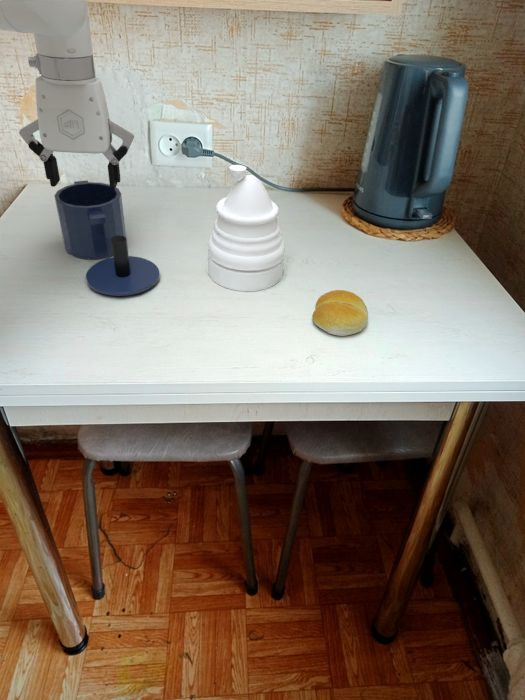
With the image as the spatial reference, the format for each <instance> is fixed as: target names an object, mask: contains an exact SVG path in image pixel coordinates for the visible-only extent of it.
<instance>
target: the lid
mask: <svg viewBox="0 0 525 700" xmlns="http://www.w3.org/2000/svg"><path fill="white" fill-rule="evenodd" d="M111 245H112V252H113V256H112V257H109V258H104V259H101V260H100V261H97V262H96V263H95V264H93V265H91V266H90V267H89V269H88V270H87V272H86V274H85V281H86V283H87V285H88V286H89V287H90V288H91V289H92V290H93V291H95V292H97V293H100V294H103V295H107V296H116V297H123V296H131V295H136V294H140V293H143V292H146V291H147V290H150V289H151V288H153V287H154V286H155V285H156V284H157V283H158V281H159V280H160V269H159V267H158V266H157V264H155V263H154V262H152V261H151V260H149V259H146V258H143V257H140V256H134V255H133V256H132V255H129V245H128V238H127V236H126V237H124V236H114V237H112V238H111Z"/></svg>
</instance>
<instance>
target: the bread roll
mask: <svg viewBox="0 0 525 700" xmlns="http://www.w3.org/2000/svg"><path fill="white" fill-rule="evenodd" d="M314 306H315V307H314V308H315V310H314V311H313V313H312V318H311V319H312V322H313V324H315V325H316V326H317V327H318V328H319V329H322V330H323V331H325V332H326V333H328V334H330V335H333V336H339V337H341V336H342V337H343V336H352V335H354V334H357V333H360V332H362V331H363V330H364V328H365V327H366V326H367V323H368V322H369V311H368V307H367V305H366V303H365V302H364V300H363V298H361V297H360V296H359V295H357V294H356V293H354V292H352V291H349V290H344V289H336V290H335V289H334V290H331V291H328V292H326V293H323V294H322V295H320V296H319V297H318V299H317V300H316V303H315V305H314Z"/></svg>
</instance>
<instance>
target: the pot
mask: <svg viewBox="0 0 525 700" xmlns="http://www.w3.org/2000/svg"><path fill="white" fill-rule="evenodd" d="M53 197H54V202H55V206H56V211H57V216H58V220H59V226H60V230H61V231H60V232H61V235H62V240H63V244H64V249H65V251H66V253H67V254H69V255H70V256H72V257H74V258H77V259H81V260H94V261H95V260H105V259H108V258H112V257H113V252H112V245H111V238H112V237H114V236H124V237H126V238H127V232H126V223H125V217H124V215H125V214H124V207H123V197H122V192H121V191H120V189H119V188H118V187H116V188H115V189H111V188H110V183H104V182H94V181H93V182H92V181H89V180H88V179H87V180H86V179H85V180H78V181H76V180H75V181H73V184H68V185H66V186H63V187H61V188H60V189H58V190H57V191H56V192H55V193H54V195H53Z"/></svg>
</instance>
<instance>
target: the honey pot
mask: <svg viewBox="0 0 525 700" xmlns="http://www.w3.org/2000/svg"><path fill="white" fill-rule="evenodd" d="M228 171H229V175H230V177H231V179H233V180H234V181H236V182H235V183H234V184H233V186H232V187H231V189H230V190H229V192H228V194H227V196H225V197H222V198H221V199H220V200H219V201H218V202H216V205H215V211H216V214H217V215H218V216H217V218H216V219H215V221H214V223H213V228H212V231H211V235H210V236H209V239H208V242H207V273H208V276H209V277H210V279H211V280H212V281H213V282H214V283H215V284H217V285H219V286H221V287H223V288H225V289H228V290H233V291H237V292H258V291H263V290H267V289H270V288H271V287H274V286H276V284H278V283H279V282H280V281H281V279H282V277H283V268H284V257H285V242H284V240H283V235H282V232H281V225H280V222H279V221H278V218H277V217H278V216H279V213H280V208H279V206H278V205H277V203H275V202H274V201H273V200H272V199H271V197H270V195H269V192H268V191H267V189H266V187H265V186H264V184H263V182H262V181H261V180H260V179H259V178H258V177H256V176H255V175H254V174H247V167H246V166H245V165H242V164H231V165H230V166H229V167H228Z"/></svg>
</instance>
